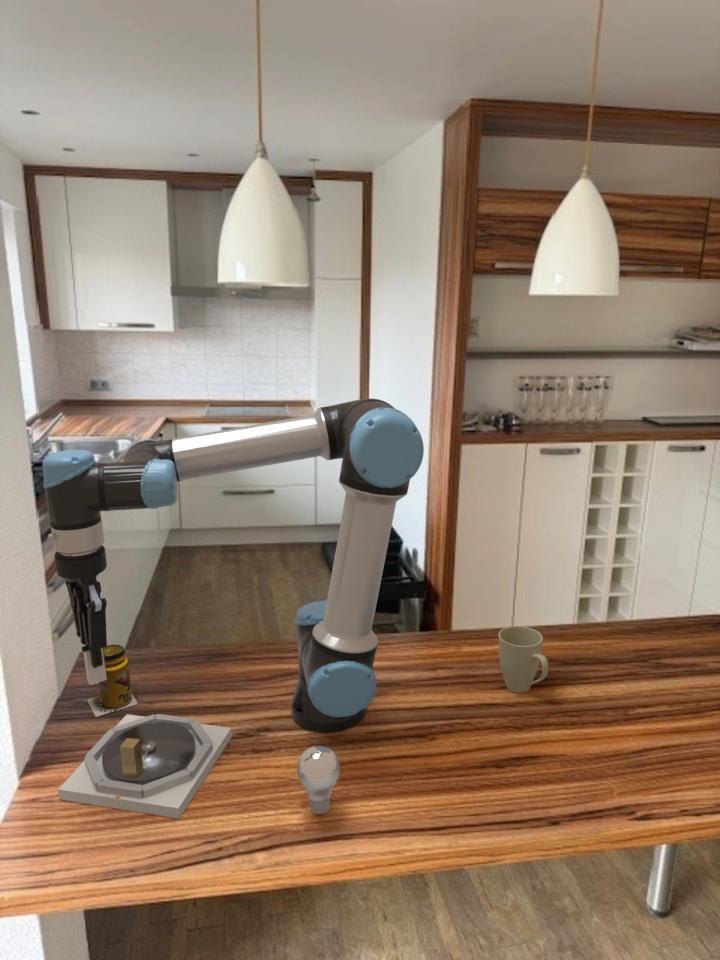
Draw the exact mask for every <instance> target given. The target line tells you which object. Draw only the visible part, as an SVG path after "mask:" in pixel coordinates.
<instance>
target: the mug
mask: <svg viewBox="0 0 720 960" xmlns="http://www.w3.org/2000/svg"><path fill="white" fill-rule="evenodd" d="M543 641H544V640H543V635H542V633H540V632H539V631H538V630H536V629H534V628H531V627H528V626H521V625H512V626H507V627H503V628H502V629H500V631H498V655H499V666H500V668H501V674H502V676H503V679H504V683H505V686H506V688H507V690H508V691H511V692H512V693H514V694H515V693H516V694H524V693H527V692H528V691H530V690H531V686H532V685H535V684H537V683H540V682H542V681H543V680H545V678H546V677H547V675H548V673H549V662H548V659H547V657H546V656H544V654H541V653H542V647H543ZM540 663H541V669H542V670H541V676H540V677H539V678H537V679H535V676H536V675H537V672H538V670H539V667H540ZM534 679H535V680H534Z"/></svg>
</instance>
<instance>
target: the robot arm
mask: <svg viewBox="0 0 720 960" xmlns="http://www.w3.org/2000/svg"><path fill="white" fill-rule="evenodd" d="M424 447H425V446H424V440H423V438H422V434H421V433H420V431H419V429H418V427H417V426H416V424H415V423H414V421H413V419H411V418H410V417H409V416H408V414H406V413H404V411H403V412H402V411H401V410H399V409H396V408H395V407H394V406H393V405H392V404H390V403H388V402H387V401H384V400H381V399H379V398H361V399H356V400H351V401H347V402H342V403H338V404H333V405H328V406H322V407H317V408H316V410H315V412H314V413H312V414H309V415H304V416H297V417H290V418H287V419H280V420H275V421H274V420H273V421H268V422H263V423H257V424H256V423H255V424H251V425H246V426H245V425H244V426H240V427H234V428H233V427H232V428H229V429H221V430H216V431H211V432H204V433H198V434H193V435H188V436H182V437H175V438H171V439H170V438H169V439H165V440H164V439H163V440H156V439H152V438H145V439H141V440H139V441H137V442H135V443H134V444H133V445H131V446H130V447H129V449H128V450H127V451H126V453H125V455H124V458H123V460H122V461H118V462H108V463H107V462H96V459H95V457H94V454H93V452H91V451H89V450H86V449H80V450H79V449H66V450H61V451H56V452H53V453H50V454H48V455H46V456H45V457H44V459H43V460H42V463H41V464H42V475H43V476H42V477H43V485H42V487H43V488H44V494H45V500H46V506H47V511H48V518H49V525H50V531H51V533H49V534H48V535H47V539H48V540H49V541H52V545H53V546H52V547H53V550H54V551H55V553H54V563H55V568H56V569H55V570H56V574H57V575H58V576H59V577H60V578H62V579H65V582H64V584H65V585H66V589H67V592H68V596H69V597H68V598H69V602H70V607H71V610H72V616H73V621H74V626H75V630H76V636H77V637H78V638H80V643H81V645H84V646H81V647H80V648H81V651H82V653H83V658H84V659H83V660H84V666H85V674H86V679H87V680H86V681H87V684H89V685H90V686H93V685H95V684H99V682H102V681H105V680H107V678H106V670H105V662H104V655H103V648H104V647H107V646H108V640H107V617H106V615H107V614H106V613H107V604H108V601H107V600H106V599H107V598H105V597H103V598H101V592H102V586H101V583H100V581H98V579H97V577H98V575H100V574H101V573H103V572H104V571H105V570H106V569H107V567H108V563H107V562H108V561H107V555H106V548H105V546H104V543H105V537H104V536H105V533H104V527H103V519H102V515H101V512H111V511H112V512H113V511H124V510H125V511H127V510H142V509H143V510H144V509H151V510H152V509H153V510H154V509H158V508H164V507H171V506H174V505H175V504H176V502H177V501H178V482H181V481H188V480H192V479H199V478H204V477H210V476H215V475H220V474H226V473H232V472H238V471H243V470H244V471H245V470H249V469H255V468H261V467H266V466H271V465H273V466H274V465H279V464H283V463H290V462H295V461H300V460H305V459H306V460H307V459H312V458H317V457H318V458H319V457H322V458H323V459H324V460H326V461H333V460H339V459H341V460H342V461H341V466H340V473H339V479H338V483H339V485H340V486H341V487H342V489H343V491H344V492H345V497H344V502H343V503H344V504H343V508H342V514H341V520H340V526H339V531H338V534H337V535H338V536H337V541H336V542H337V543H336V546H335V547H336V549H335V553H334V559H333V565H332V571H331V574H330V580H329V587H328V591H327V597H326V599H325V600H318V601H314V602H310V603H308V604H304V605H302V606H301V607H300V608H299V609H298V611H297V612H296V621H295V625H296V632H297V633H296V635H297V657H298V658H297V660H298V661H297V662H298V666H297V667H298V680H297V683H296V686H295V688H294V692H293V695H292V699H291V706H290V707H291V717H292V719H293V721H294V722H295V723H296V724H297V726H299V727H301V728H303V729H305V730H308V731H311V732H314V733H319V734H321V733H322V734H331V733H333V734H334V733H339V732H343V731H346V730H347V731H348V730H349V729H352V728H355V726H357V725H359V724H360V723H361V722H362V721H363V720H364V718H365V716H366V714H367V707H368V706H369V705H370V704H371V702H373V700H374V698H375V695H376V693H377V678H376V677H377V676H376V674H375V672H374V671H373V670H374V665H375V664H374V663H375V659H376V658H375V657H376V652H377V649H378V643H379V639H378V636H377V635H376V633H375V632H374V630H372V628H373V623H374V619H375V613H376V608H377V602H378V599H379V598H378V597H379V593H380V588H381V583H382V576H383V573H384V572H383V571H384V566H385V562H386V557H387V551H388V547H389V543H390V542H389V541H390V535H391V531H392V527H393V522H394V516H395V511H396V505H397V502H398V501H399V500H401V499H404V497H406V496H407V495H408V493H409V492H408V491H409V488H410V481H411V479H412V478H413V477H414V476H415V475H416V474H417V472H418V471H419V469H420V467H421V465H422V462H423V459H424V453H425V450H424V449H425V448H424Z"/></svg>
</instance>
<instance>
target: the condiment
mask: <svg viewBox="0 0 720 960" xmlns="http://www.w3.org/2000/svg"><path fill="white" fill-rule="evenodd" d="M125 652H126V650H125V648H124V646H123V645H120V644H109V645H108V644H107V647H104V648H103V655H104V662H105V670H106V678H107V680H105V681H102V682H99V683H98V684H99V685H98V686H99V692H100V695H98V696H96V697H91V698H88V699H86V700H87V703H88V704H89V705H88V706H89V707H90V709H91V711H92V712H93V715H94V717H95V718H98V717H100V716H104V715H106V714H109V713H110V714H111V713H113V712H116V711H117V712H118V711H120V709H121V710H123V709H126V708H130V707H133V706H135V705H138V704H139V702H138V701H137V700H136V698H135V697H134V694H132V685H131V677H130V670H129V669H130V668H129V660H128V658H127V656H126V653H125ZM100 699H101V701H102V702H101V701H100ZM98 701H99V702H98ZM99 704H100V705H99ZM101 704H102V705H101ZM101 708H102V709H103V708H105V710H106V709H107V711H106V712H104V711H105V710H104V709H103V710H102V712H101V711H99V710H100V709H101ZM98 709H99V710H98ZM110 709H118V710H116V711H114V710H112V711H111V710H110ZM108 710H109V711H108ZM110 711H111V712H110Z"/></svg>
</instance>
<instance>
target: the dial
mask: <svg viewBox="0 0 720 960" xmlns="http://www.w3.org/2000/svg"><path fill="white" fill-rule="evenodd" d="M195 748H196V747H195V739H194V736H193V735H192V733H191V732H190V731H189V730H188V729H186V728H184V727H182V726H180V725H176V724H172V723H152V724H146V725H142V726H138V727H135V728H133V729H130V730H128V731H126V732H124V733H122V734H121V735H119V736H117V737H116V738H115V739H114V740H112V741H111V742H110V743H109V745H108V746H107V747H106V749H105V750H104V753H103V756H102V764H103V770H104V772H105V774H106V775H107V777H109V778H110V779H111V780H113V781H119V782H126V783H133V784H139V785H145V784H147V783H150V782H153V781H155V780H158V779H161V778H163V777H166V776H169V775H171V774H174V773H177V772H179V771H182V770H183V769H184V768H185V767H187V765H188V764H189V763H190V762H191V760H192V759H193V757H194V755H195Z"/></svg>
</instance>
